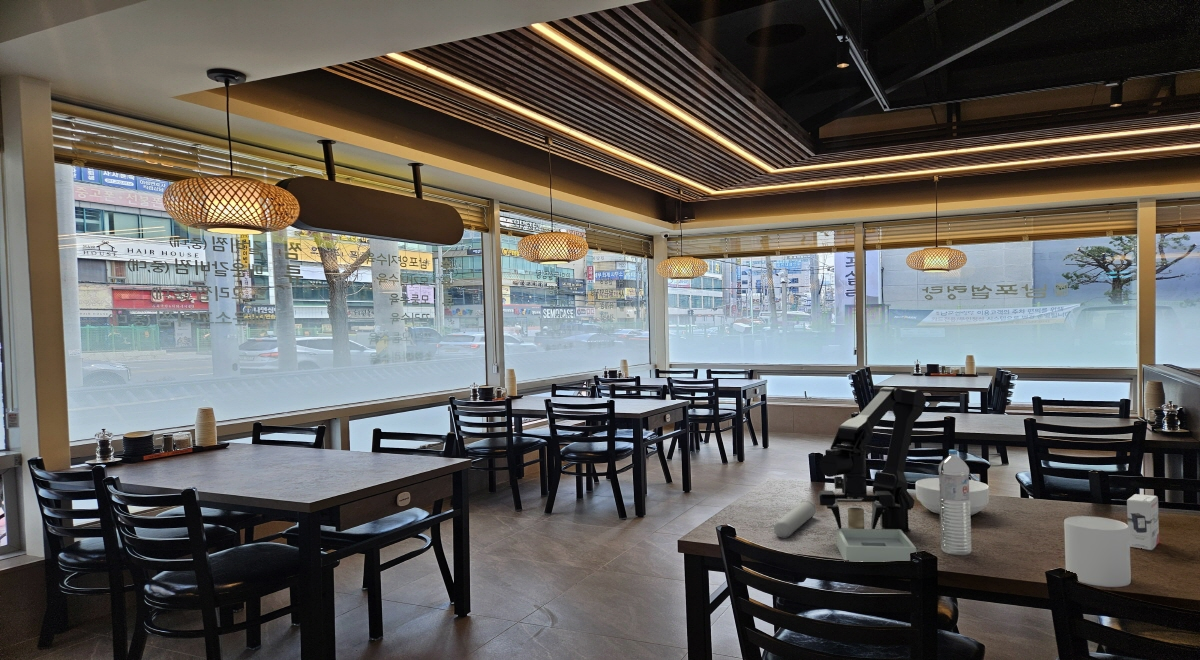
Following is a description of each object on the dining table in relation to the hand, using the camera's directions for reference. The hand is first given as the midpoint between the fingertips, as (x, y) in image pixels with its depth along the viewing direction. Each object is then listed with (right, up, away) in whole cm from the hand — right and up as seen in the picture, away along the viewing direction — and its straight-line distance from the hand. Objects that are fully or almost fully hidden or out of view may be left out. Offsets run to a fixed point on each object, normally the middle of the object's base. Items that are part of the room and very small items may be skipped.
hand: (856, 530), depth 193 cm
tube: (-13, -3, +14) cm, 19 cm away
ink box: (+67, 0, -12) cm, 68 cm away
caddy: (0, -2, -14) cm, 14 cm away
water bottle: (+20, -2, -13) cm, 24 cm away
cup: (+41, -1, -34) cm, 53 cm away
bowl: (+37, -1, +24) cm, 44 cm away
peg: (0, -2, 0) cm, 2 cm away
